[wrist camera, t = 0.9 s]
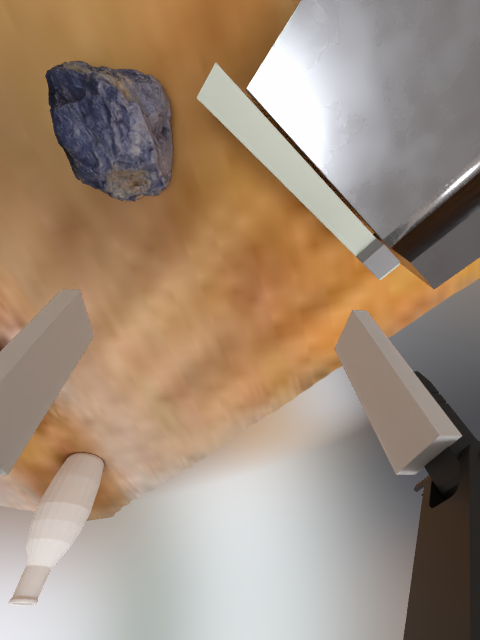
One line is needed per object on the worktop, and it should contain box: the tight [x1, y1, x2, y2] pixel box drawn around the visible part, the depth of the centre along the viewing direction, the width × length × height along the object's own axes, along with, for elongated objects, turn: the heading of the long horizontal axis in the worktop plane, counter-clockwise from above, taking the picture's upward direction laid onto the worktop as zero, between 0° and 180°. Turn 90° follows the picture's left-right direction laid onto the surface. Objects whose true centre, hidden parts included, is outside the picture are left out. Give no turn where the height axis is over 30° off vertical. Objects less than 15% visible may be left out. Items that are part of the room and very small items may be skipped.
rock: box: [45, 61, 174, 201], centre depth 24 cm, size 11×10×10 cm
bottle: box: [9, 453, 104, 606], centre depth 57 cm, size 11×11×25 cm
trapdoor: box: [246, 0, 480, 289], centre depth 18 cm, size 21×15×7 cm
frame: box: [197, 63, 400, 280], centre depth 19 cm, size 20×20×14 cm
